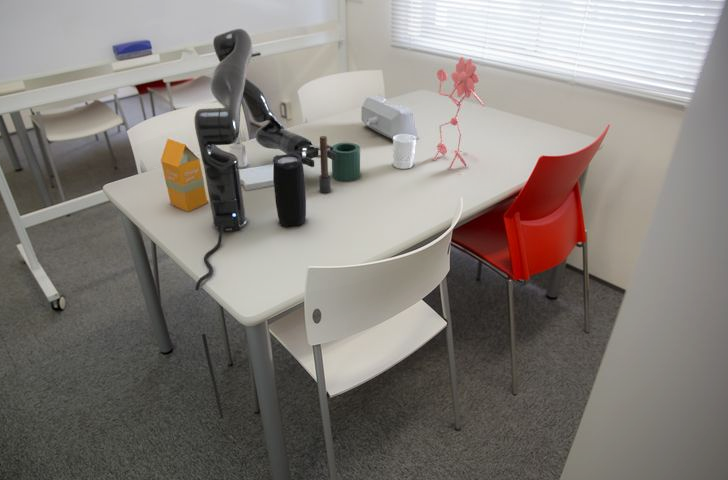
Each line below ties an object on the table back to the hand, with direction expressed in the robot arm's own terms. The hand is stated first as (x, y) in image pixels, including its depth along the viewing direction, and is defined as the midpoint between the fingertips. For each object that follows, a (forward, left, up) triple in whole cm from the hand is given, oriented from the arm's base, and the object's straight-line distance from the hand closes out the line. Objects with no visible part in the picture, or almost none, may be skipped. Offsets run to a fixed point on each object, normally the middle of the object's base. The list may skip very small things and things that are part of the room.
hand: (324, 160), depth 158 cm
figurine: (+18, -49, -11) cm, 53 cm away
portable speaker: (-19, +11, -11) cm, 24 cm away
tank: (+50, -28, -11) cm, 59 cm away
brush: (0, 0, -11) cm, 11 cm away
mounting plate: (+12, +21, -11) cm, 27 cm away
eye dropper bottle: (+25, +29, -11) cm, 40 cm away
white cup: (+17, -29, -11) cm, 35 cm away
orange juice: (-3, +43, -11) cm, 45 cm away
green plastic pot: (+11, -8, -11) cm, 17 cm away
